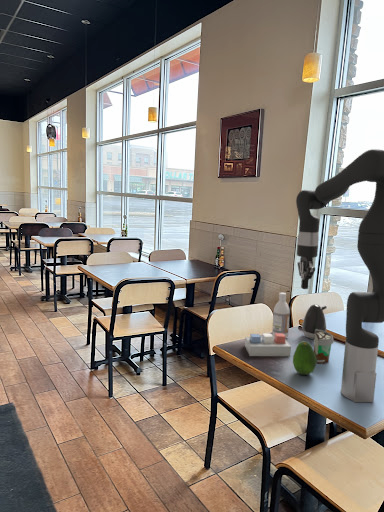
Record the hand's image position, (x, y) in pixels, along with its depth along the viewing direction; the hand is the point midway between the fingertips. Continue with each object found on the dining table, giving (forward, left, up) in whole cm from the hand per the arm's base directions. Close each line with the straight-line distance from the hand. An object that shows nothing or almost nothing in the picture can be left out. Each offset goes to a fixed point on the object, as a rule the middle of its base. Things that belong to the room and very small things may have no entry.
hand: (304, 288), depth 142 cm
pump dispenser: (+19, -13, -27) cm, 36 cm away
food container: (-4, -8, -27) cm, 29 cm away
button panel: (+4, +12, -27) cm, 30 cm away
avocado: (-16, +4, -27) cm, 32 cm away
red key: (+4, +7, -25) cm, 26 cm away
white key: (+4, +12, -25) cm, 28 cm away
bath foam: (+20, +2, -27) cm, 34 cm away
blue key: (+4, +17, -25) cm, 30 cm away
